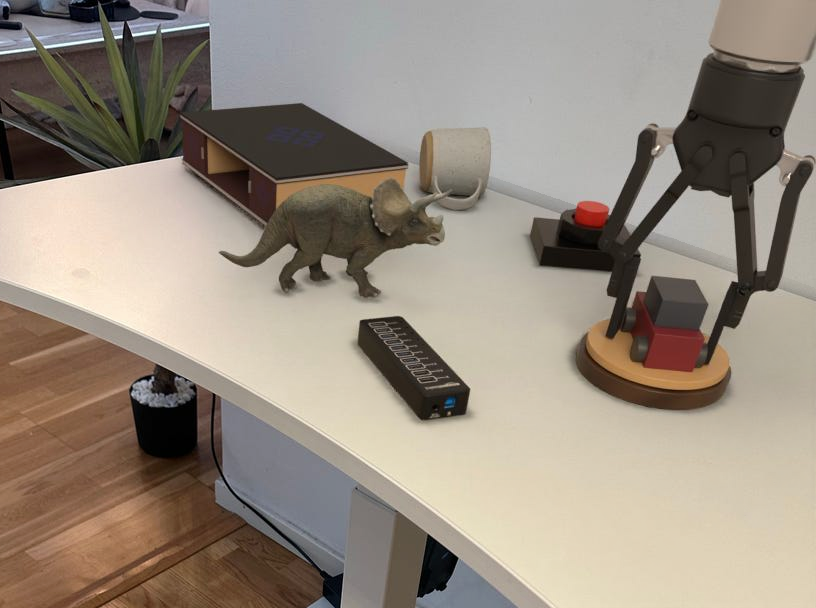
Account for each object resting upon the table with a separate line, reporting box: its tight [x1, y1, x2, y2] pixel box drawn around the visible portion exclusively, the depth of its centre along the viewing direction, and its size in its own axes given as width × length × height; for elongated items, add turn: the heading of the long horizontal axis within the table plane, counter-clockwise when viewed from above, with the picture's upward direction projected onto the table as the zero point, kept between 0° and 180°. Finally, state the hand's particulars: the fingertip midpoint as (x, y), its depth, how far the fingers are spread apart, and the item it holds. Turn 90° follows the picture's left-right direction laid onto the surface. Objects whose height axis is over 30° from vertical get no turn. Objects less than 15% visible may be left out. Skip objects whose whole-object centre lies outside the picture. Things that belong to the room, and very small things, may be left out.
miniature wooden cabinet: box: [179, 102, 409, 228], centre depth 110 cm, size 17×25×7 cm
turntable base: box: [575, 330, 733, 411], centre depth 85 cm, size 14×14×2 cm
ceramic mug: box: [418, 126, 492, 211], centre depth 114 cm, size 11×8×8 cm
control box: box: [529, 208, 642, 273], centre depth 104 cm, size 11×9×4 cm
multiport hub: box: [357, 315, 471, 421], centre depth 81 cm, size 4×14×2 cm, turn 22°
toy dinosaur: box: [218, 177, 452, 299], centre depth 90 cm, size 22×8×11 cm, turn 90°
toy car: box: [586, 275, 731, 390], centre depth 82 cm, size 13×13×6 cm
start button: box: [574, 200, 610, 226], centre depth 103 cm, size 4×4×2 cm
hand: (659, 344), depth 84 cm, fingers closed on toy car, 8 cm apart
